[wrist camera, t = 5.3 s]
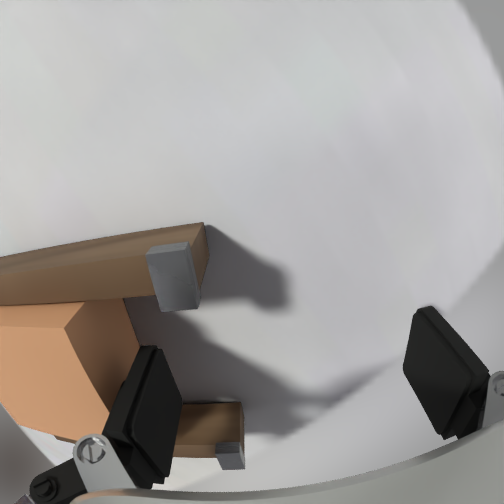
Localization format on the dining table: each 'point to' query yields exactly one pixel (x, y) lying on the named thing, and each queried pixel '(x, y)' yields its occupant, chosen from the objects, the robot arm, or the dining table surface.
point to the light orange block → (64, 363)
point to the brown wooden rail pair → (134, 285)
